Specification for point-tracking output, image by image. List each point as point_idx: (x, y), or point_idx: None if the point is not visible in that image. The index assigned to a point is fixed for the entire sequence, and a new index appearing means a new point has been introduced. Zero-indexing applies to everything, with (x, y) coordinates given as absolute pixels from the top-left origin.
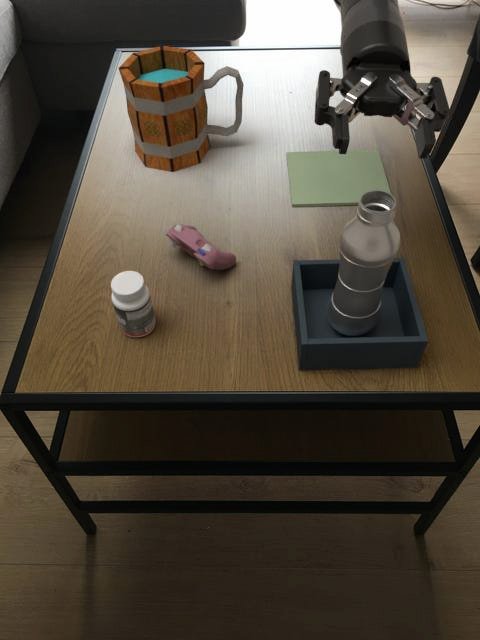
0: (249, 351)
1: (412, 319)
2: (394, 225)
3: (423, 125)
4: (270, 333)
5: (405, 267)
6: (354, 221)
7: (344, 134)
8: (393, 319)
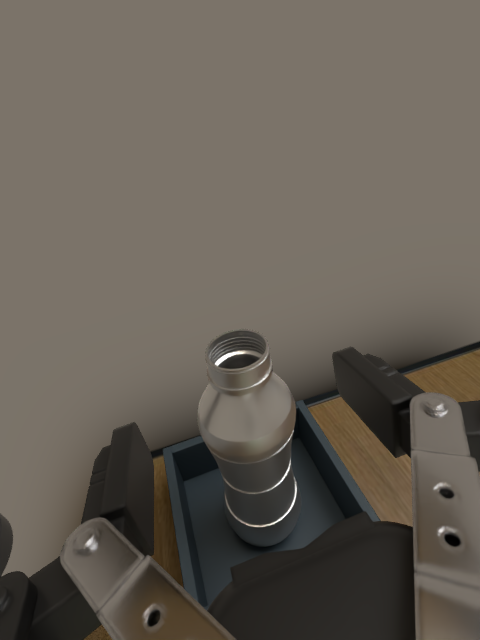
0: (366, 435)
1: (180, 490)
2: (207, 395)
3: (123, 480)
4: (358, 467)
5: (189, 593)
6: (273, 377)
7: (355, 354)
8: (206, 544)
